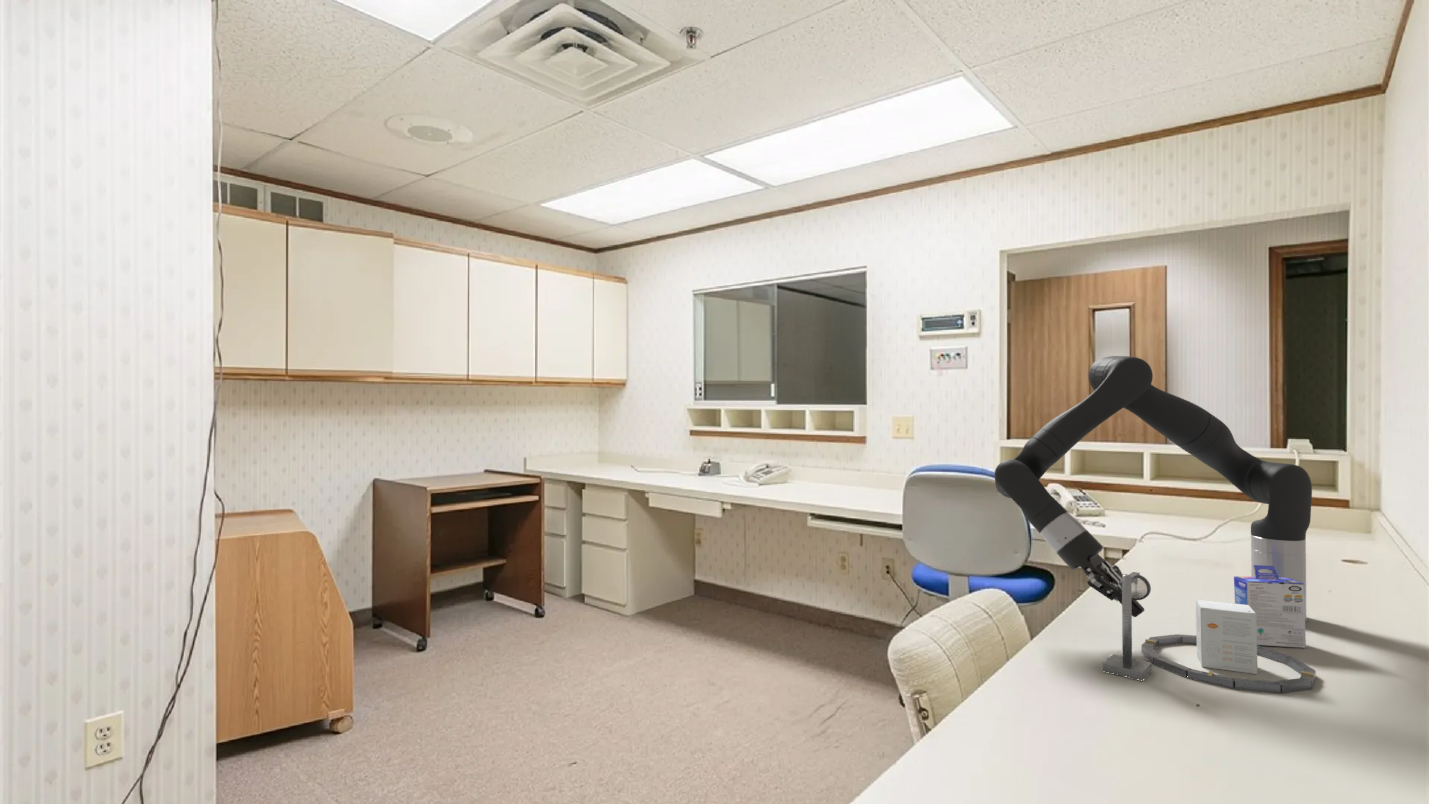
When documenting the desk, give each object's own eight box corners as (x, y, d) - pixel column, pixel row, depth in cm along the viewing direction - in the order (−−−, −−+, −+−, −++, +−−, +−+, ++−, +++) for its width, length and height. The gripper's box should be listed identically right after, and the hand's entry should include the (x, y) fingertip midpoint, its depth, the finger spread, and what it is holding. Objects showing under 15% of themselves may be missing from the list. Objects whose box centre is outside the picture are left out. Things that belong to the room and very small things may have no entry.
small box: (1250, 664, 122) (1250, 604, 122) (1258, 675, 117) (1257, 613, 117) (1195, 657, 125) (1195, 598, 126) (1200, 667, 121) (1200, 606, 121)
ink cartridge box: (1290, 639, 135) (1289, 565, 135) (1308, 649, 129) (1307, 571, 129) (1232, 636, 137) (1232, 563, 137) (1248, 645, 131) (1247, 569, 131)
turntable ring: (1162, 632, 139) (1162, 625, 139) (1321, 664, 122) (1321, 655, 122) (1127, 664, 122) (1127, 655, 122) (1306, 705, 105) (1306, 695, 105)
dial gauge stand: (1118, 658, 125) (1117, 566, 125) (1156, 667, 120) (1155, 572, 121) (1102, 671, 118) (1101, 575, 119) (1142, 681, 114) (1141, 581, 114)
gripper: (1073, 533, 133) (1146, 610, 125) (1095, 525, 143) (1165, 596, 134) (1044, 556, 137) (1114, 632, 128) (1068, 547, 146) (1134, 617, 138)
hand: (1139, 613), depth 131 cm, fingers closed
